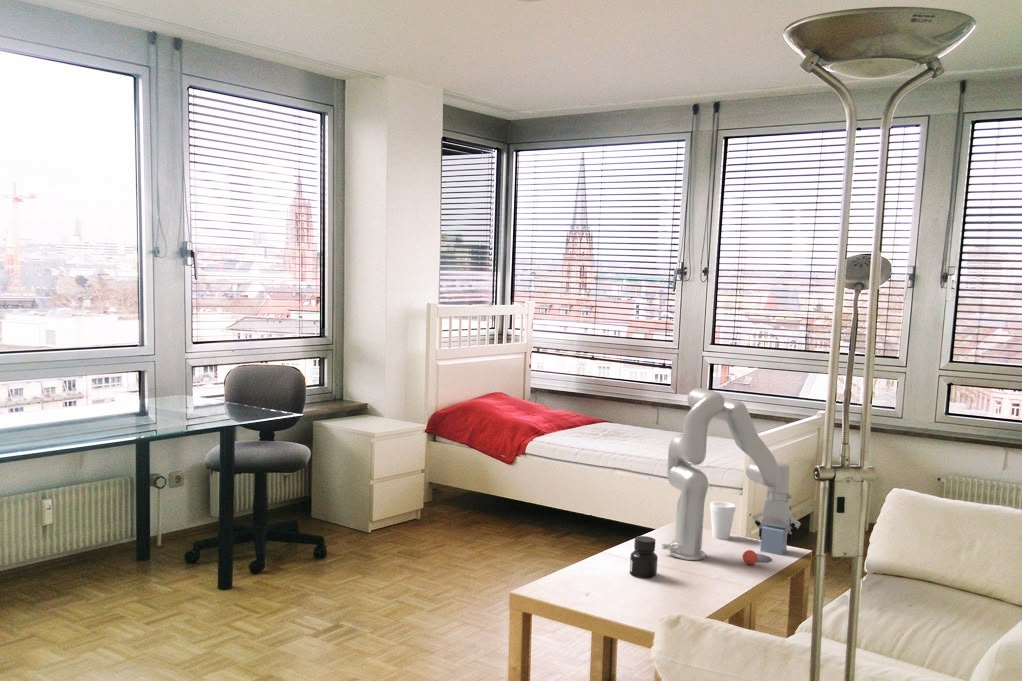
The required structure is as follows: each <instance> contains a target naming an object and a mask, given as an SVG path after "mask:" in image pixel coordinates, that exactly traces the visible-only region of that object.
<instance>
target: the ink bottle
mask: <svg viewBox="0 0 1022 681" xmlns="http://www.w3.org/2000/svg"><path fill="white" fill-rule="evenodd" d="M633 547H634V550H633V551H631V554H630V557H629V558H630V560H629V574H630V575H632V576H633V577H636V578H641V579H652V578H654V577H657V573H658V555H657V554H656V553H655V551H656V550H655V549H656V539H655V538H653V537H650V536H646V535H638V536H636V537H634V545H633Z"/></svg>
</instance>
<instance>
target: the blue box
mask: <svg viewBox="0 0 1022 681" xmlns="http://www.w3.org/2000/svg"><path fill="white" fill-rule="evenodd" d="M787 534H788V531H787V530H786V529H785V528H780V527H774V526H768V525H764V526H763V527H762V534H761V540H760V548H759V549H760V552H764V553H768V554H773V555H777V556H778V555H779V556H782V555H783V554H784V553H785V552H786V551H787V546H788V544H786V543H787Z"/></svg>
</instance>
